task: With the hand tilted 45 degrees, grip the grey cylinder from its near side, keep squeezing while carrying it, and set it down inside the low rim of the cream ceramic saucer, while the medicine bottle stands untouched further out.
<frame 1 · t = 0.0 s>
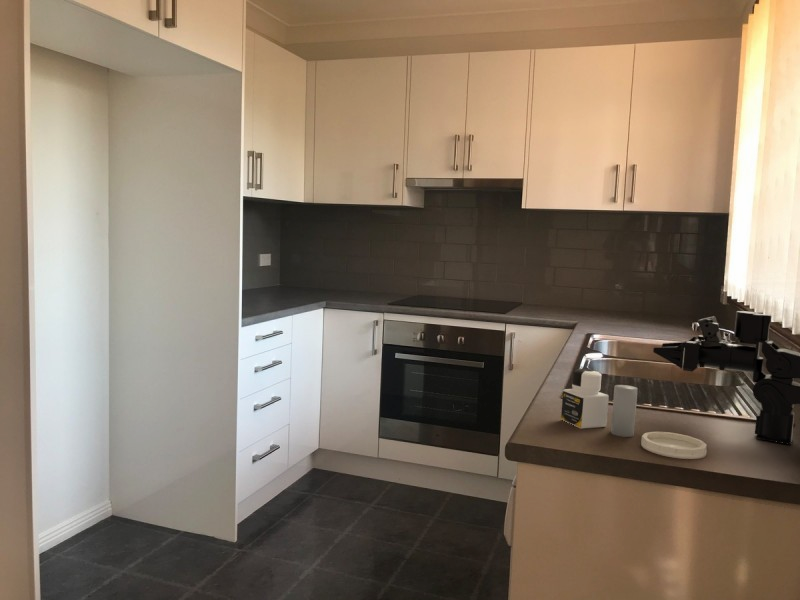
hand: (658, 347, 157), 17 cm above the counter, tool horizontal, fingers open, 9 cm apart
grey cylinder: (622, 433, 142), on the counter
medicine bottle: (583, 424, 149), on the counter
saucer: (673, 449, 133), on the counter
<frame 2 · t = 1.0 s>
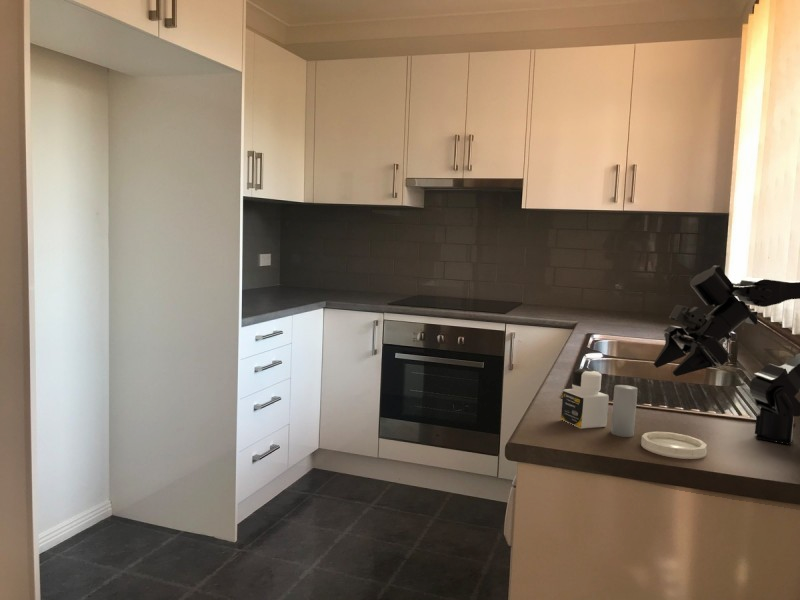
hand: (664, 370, 142), 14 cm above the counter, tool tilted 45°, fingers open, 9 cm apart
nothing on the counter moved.
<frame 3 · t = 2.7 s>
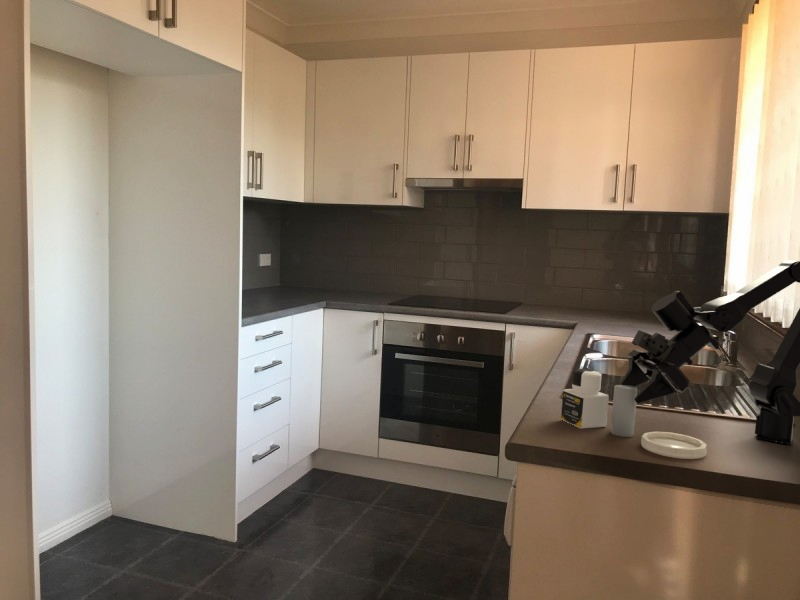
hand: (626, 396, 142), 8 cm above the counter, tool tilted 45°, fingers open, 9 cm apart
nothing on the counter moved.
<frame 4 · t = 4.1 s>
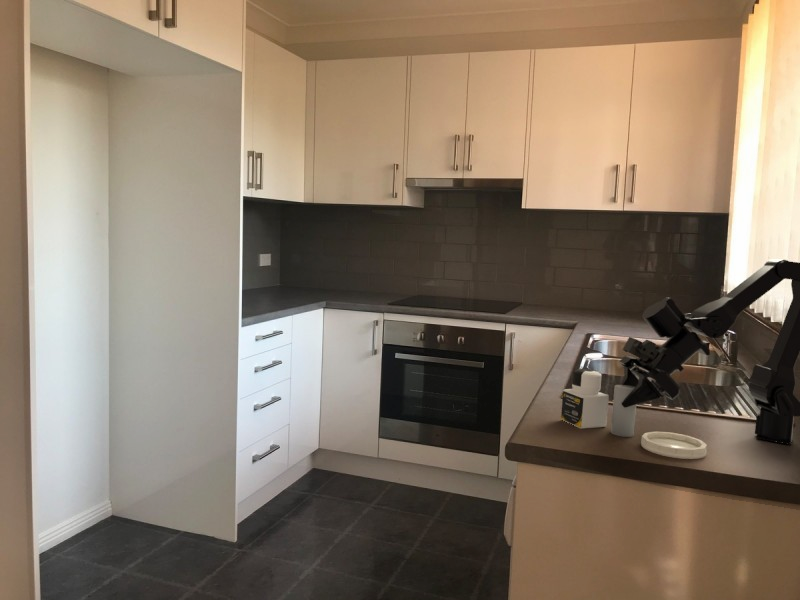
hand: (618, 402, 142), 7 cm above the counter, tool tilted 45°, fingers closed on grey cylinder, 5 cm apart
grey cylinder: (622, 433, 142), on the counter, touching gripper
everything else where it was.
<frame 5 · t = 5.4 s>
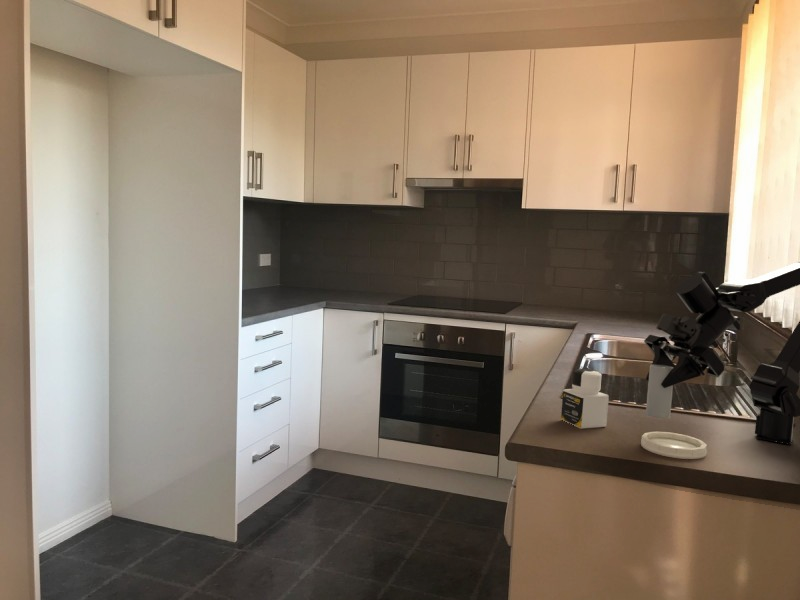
hand: (654, 383, 135), 12 cm above the counter, tool tilted 45°, fingers closed on grey cylinder, 5 cm apart
grey cylinder: (657, 415, 136), point 6 cm above the counter, touching gripper
everything else where it was.
when the fingers open (9 cm above the counter, at t = 6.7 s): grey cylinder drops 1 cm, resting on saucer.
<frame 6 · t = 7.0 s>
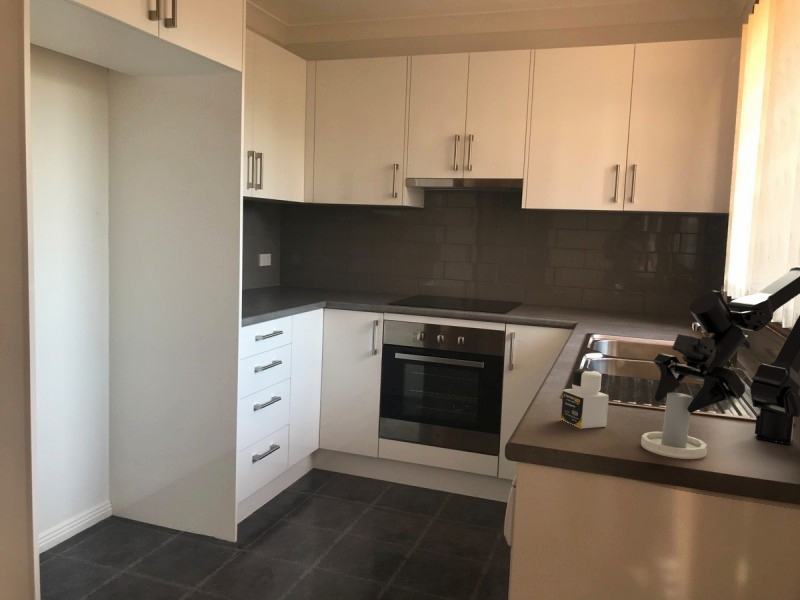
hand: (671, 405, 132), 9 cm above the counter, tool tilted 45°, fingers open, 8 cm apart
grey cylinder: (673, 444, 133), point 1 cm above the counter, touching saucer
everything else where it was.
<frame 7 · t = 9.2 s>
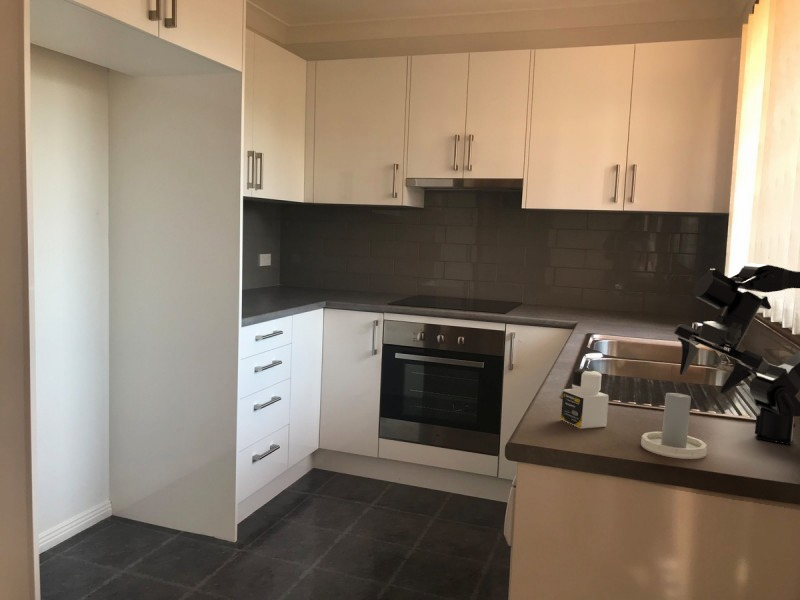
hand: (700, 384, 142), 11 cm above the counter, tool tilted 25°, fingers open, 9 cm apart
nothing on the counter moved.
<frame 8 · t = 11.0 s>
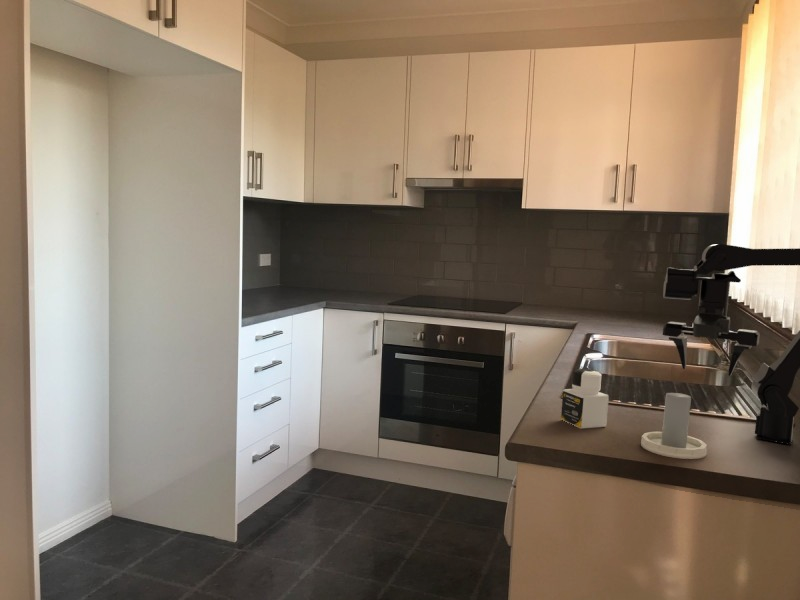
hand: (706, 372, 147), 13 cm above the counter, tool pointing down, fingers open, 9 cm apart
nothing on the counter moved.
at the end: grey cylinder 0.1 cm from the saucer (horizontally); grey cylinder tilted 0°; the gripper is holding nothing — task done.
